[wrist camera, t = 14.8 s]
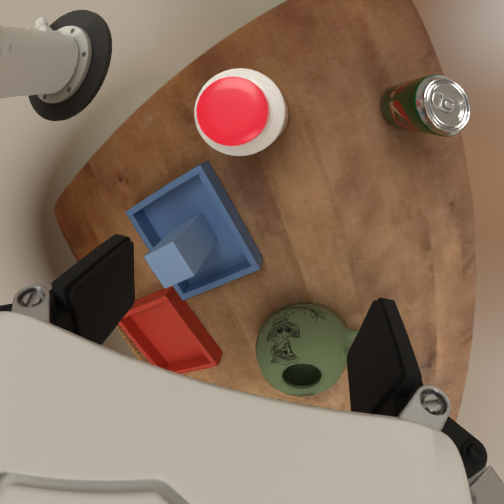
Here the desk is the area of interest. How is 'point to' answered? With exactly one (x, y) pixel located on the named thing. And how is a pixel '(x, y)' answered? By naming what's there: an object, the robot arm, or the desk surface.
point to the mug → (303, 349)
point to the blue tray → (217, 216)
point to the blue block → (182, 251)
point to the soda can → (427, 106)
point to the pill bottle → (240, 112)
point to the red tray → (170, 333)
